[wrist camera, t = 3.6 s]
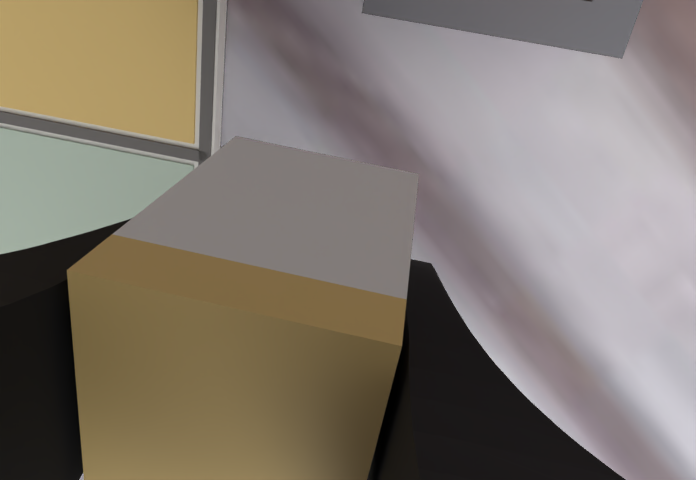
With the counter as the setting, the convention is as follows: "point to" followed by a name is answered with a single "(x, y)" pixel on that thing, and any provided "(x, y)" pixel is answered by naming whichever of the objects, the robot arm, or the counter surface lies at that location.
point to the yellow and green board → (102, 109)
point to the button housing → (526, 20)
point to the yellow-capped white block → (245, 321)
